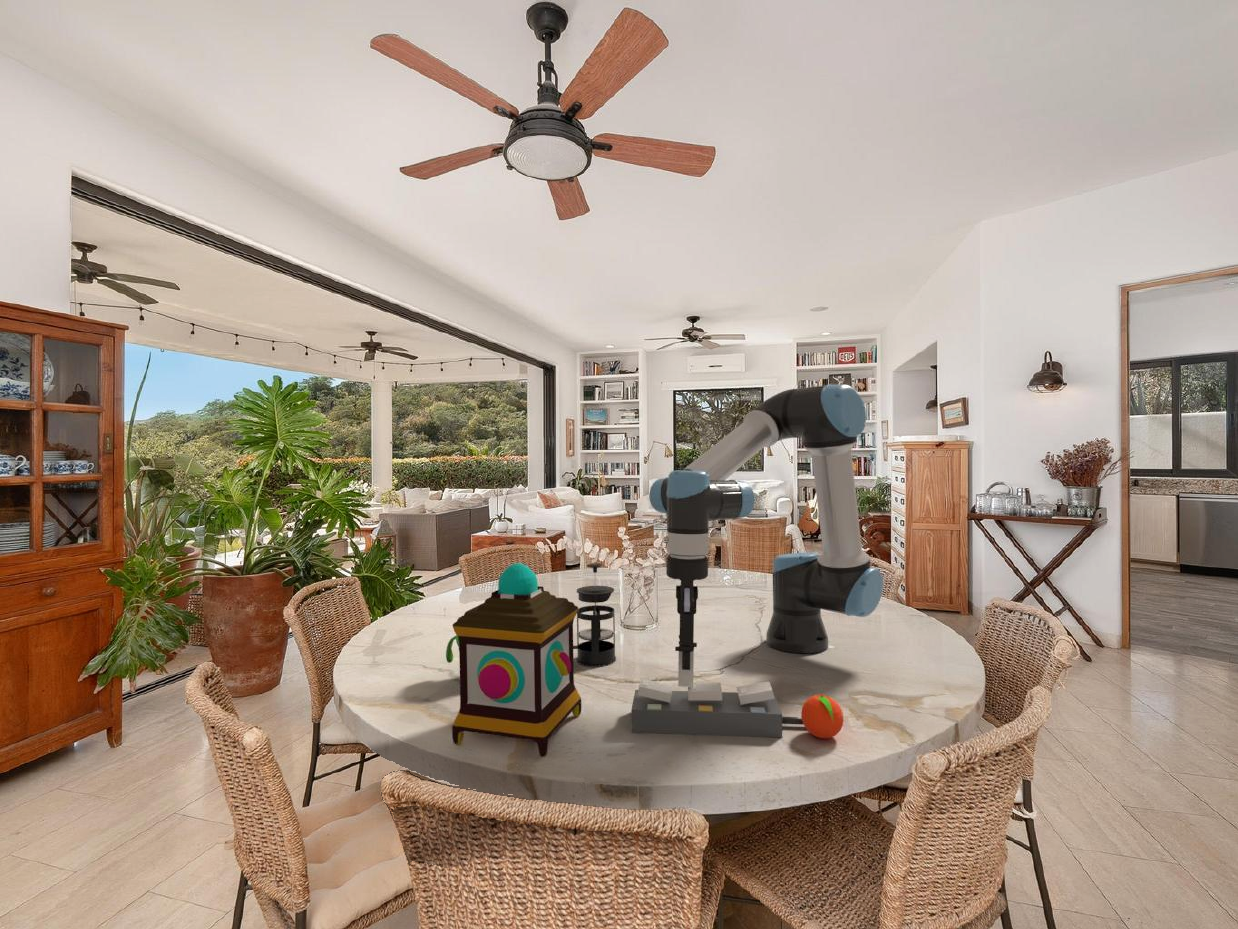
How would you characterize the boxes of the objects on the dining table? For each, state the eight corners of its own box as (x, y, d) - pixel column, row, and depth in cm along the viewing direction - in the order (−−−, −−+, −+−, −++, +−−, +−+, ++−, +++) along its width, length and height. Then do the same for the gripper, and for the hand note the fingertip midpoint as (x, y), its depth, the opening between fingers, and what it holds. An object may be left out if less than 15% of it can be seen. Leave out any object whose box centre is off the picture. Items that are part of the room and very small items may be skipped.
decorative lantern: (497, 701, 121) (494, 552, 120) (591, 712, 115) (588, 555, 114) (440, 749, 101) (436, 571, 101) (549, 765, 96) (546, 576, 95)
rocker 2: (720, 691, 111) (720, 682, 111) (722, 700, 107) (721, 690, 107) (688, 691, 112) (687, 682, 112) (688, 700, 108) (688, 690, 108)
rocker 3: (771, 690, 110) (768, 680, 110) (774, 698, 106) (772, 689, 106) (738, 695, 111) (736, 686, 111) (740, 704, 107) (738, 695, 107)
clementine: (853, 748, 100) (853, 705, 100) (813, 750, 99) (812, 707, 99) (833, 726, 108) (832, 686, 108) (795, 728, 107) (795, 688, 107)
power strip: (807, 715, 112) (807, 692, 112) (818, 738, 103) (817, 713, 103) (635, 710, 115) (635, 688, 115) (631, 732, 107) (631, 708, 106)
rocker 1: (670, 693, 112) (672, 684, 112) (670, 702, 108) (672, 693, 108) (639, 686, 113) (640, 677, 113) (637, 694, 109) (639, 685, 109)
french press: (618, 653, 149) (617, 560, 148) (618, 666, 139) (617, 567, 139) (571, 653, 149) (570, 560, 148) (567, 667, 139) (566, 568, 139)
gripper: (667, 549, 116) (666, 671, 117) (665, 561, 103) (663, 698, 104) (706, 550, 116) (705, 673, 116) (709, 562, 102) (707, 700, 103)
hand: (685, 684), depth 110 cm, fingers closed
